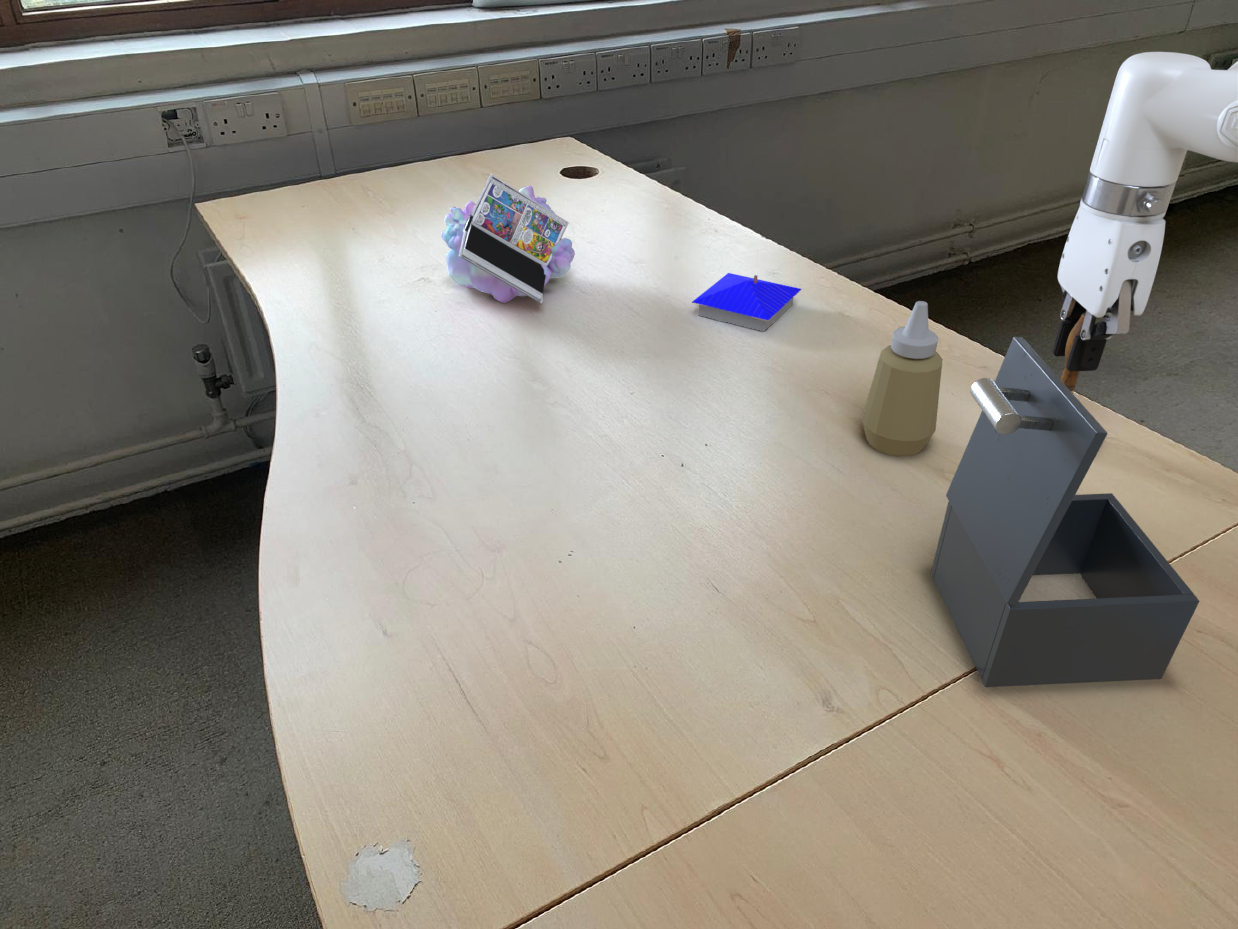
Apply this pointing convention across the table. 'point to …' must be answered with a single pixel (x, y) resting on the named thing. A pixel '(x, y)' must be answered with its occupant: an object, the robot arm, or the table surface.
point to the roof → (746, 301)
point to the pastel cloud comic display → (506, 243)
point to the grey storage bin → (1070, 603)
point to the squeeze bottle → (905, 389)
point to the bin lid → (1021, 466)
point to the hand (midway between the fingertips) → (1074, 360)
